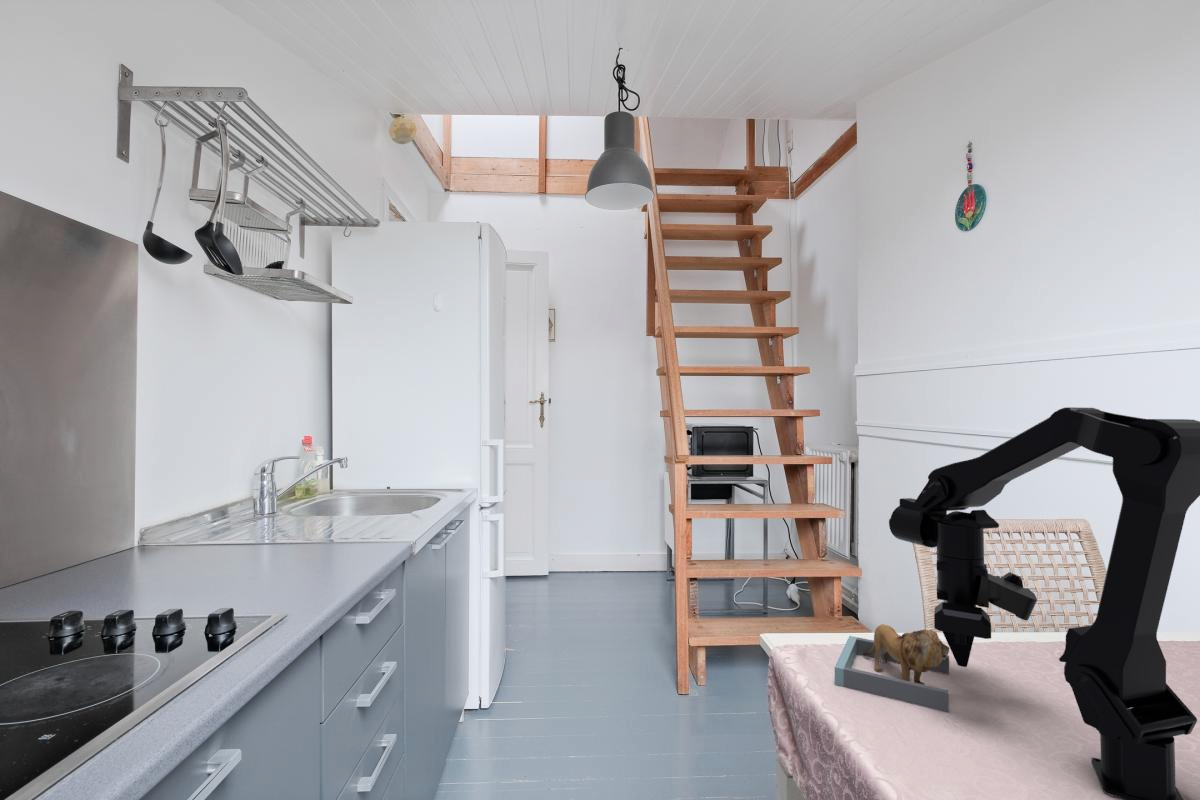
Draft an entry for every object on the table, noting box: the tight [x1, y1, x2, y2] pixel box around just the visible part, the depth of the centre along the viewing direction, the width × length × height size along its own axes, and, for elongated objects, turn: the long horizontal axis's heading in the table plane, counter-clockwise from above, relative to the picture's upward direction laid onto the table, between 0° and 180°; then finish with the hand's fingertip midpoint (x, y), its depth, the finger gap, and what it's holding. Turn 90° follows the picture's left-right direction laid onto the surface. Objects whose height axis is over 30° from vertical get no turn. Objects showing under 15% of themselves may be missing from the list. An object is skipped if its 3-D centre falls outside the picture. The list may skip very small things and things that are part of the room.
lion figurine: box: [862, 623, 950, 685], centre depth 84 cm, size 15×5×9 cm, turn 18°
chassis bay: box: [834, 635, 950, 713], centre depth 84 cm, size 14×14×2 cm
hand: (962, 665), depth 79 cm, fingers closed
